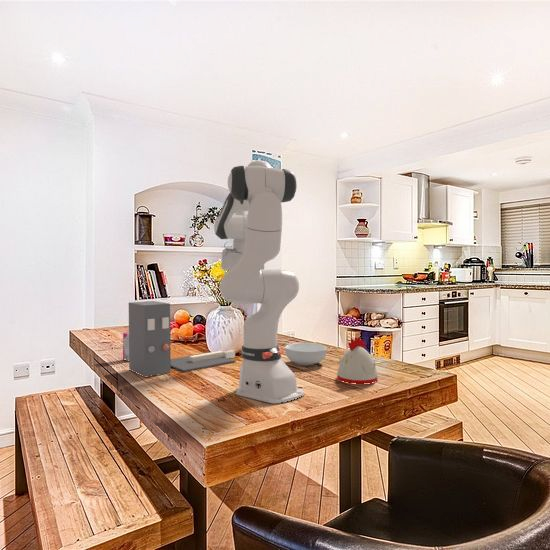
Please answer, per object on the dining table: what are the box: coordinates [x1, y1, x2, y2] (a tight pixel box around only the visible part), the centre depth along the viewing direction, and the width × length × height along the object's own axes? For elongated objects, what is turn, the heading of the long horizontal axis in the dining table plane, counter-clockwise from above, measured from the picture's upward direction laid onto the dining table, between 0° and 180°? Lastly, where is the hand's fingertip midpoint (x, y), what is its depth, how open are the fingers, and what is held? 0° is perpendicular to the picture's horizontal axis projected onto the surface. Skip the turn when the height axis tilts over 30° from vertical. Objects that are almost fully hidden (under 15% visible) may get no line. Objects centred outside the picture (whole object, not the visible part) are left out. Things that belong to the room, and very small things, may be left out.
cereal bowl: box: [284, 342, 328, 367], centre depth 171 cm, size 17×17×7 cm
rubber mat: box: [171, 352, 236, 373], centre depth 172 cm, size 20×24×1 cm
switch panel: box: [128, 300, 172, 377], centre depth 158 cm, size 15×10×26 cm
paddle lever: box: [188, 349, 236, 362], centre depth 177 cm, size 6×20×3 cm, turn 132°
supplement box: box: [122, 332, 129, 360], centre depth 177 cm, size 6×6×12 cm
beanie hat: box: [336, 336, 378, 384], centre depth 148 cm, size 14×14×15 cm
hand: (243, 281), depth 178 cm, fingers open, 8 cm apart
